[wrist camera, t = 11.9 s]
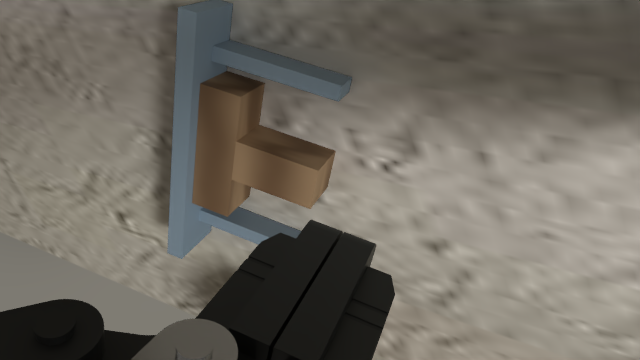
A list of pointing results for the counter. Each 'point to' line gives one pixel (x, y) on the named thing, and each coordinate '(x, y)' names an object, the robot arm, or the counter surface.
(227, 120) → the walnut T block
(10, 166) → the counter surface
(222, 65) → the frame
